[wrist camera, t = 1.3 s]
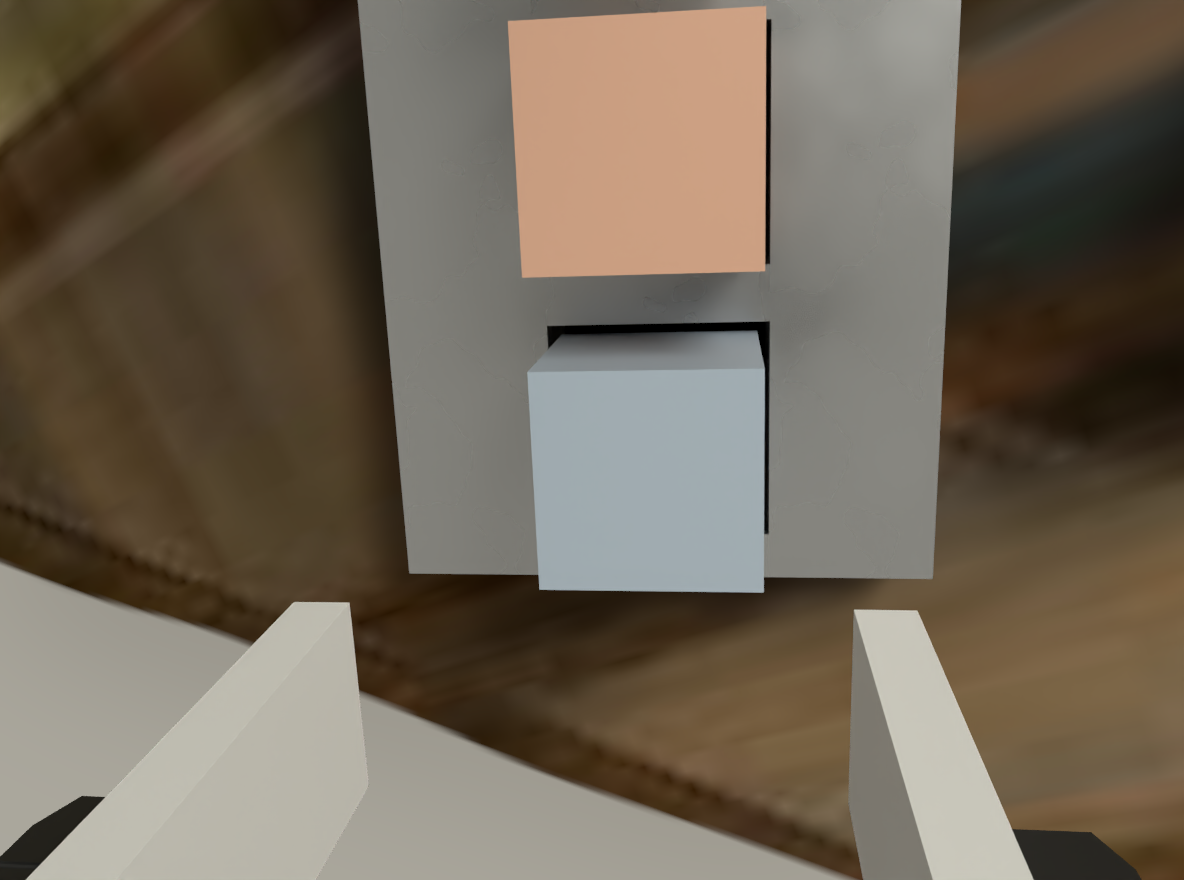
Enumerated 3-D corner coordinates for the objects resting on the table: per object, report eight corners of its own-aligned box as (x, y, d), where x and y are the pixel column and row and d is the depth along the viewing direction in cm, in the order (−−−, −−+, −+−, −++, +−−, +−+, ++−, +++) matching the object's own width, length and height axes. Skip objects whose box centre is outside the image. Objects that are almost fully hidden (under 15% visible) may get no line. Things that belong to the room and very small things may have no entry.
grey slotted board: (370, -295, 26) (326, -352, 23) (951, -352, 24) (981, -421, 21) (437, 535, 32) (409, 573, 29) (912, 538, 30) (932, 578, 27)
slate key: (561, 334, 27) (527, 372, 22) (757, 330, 26) (764, 368, 21) (570, 516, 28) (539, 589, 23) (756, 517, 28) (764, 592, 23)
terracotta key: (548, 47, 25) (507, 20, 20) (757, 35, 24) (766, 5, 20) (558, 256, 26) (521, 277, 22) (757, 250, 26) (765, 271, 21)
